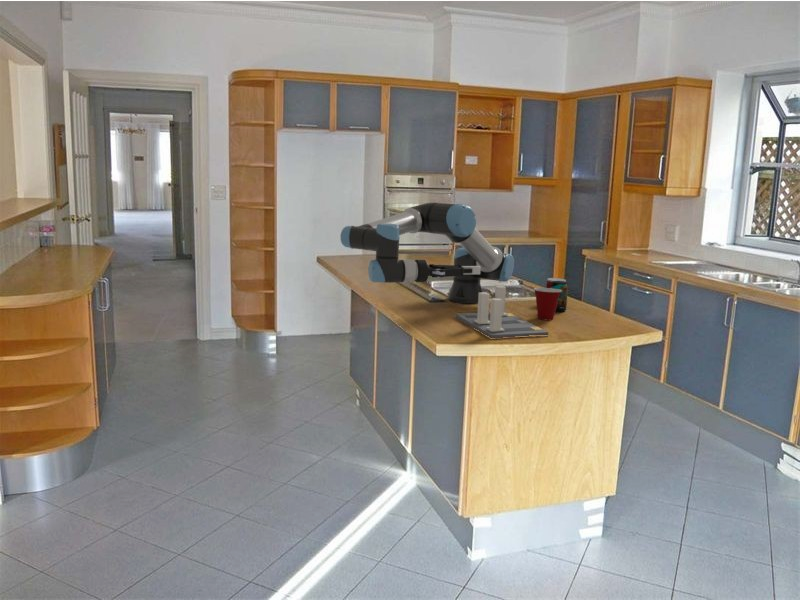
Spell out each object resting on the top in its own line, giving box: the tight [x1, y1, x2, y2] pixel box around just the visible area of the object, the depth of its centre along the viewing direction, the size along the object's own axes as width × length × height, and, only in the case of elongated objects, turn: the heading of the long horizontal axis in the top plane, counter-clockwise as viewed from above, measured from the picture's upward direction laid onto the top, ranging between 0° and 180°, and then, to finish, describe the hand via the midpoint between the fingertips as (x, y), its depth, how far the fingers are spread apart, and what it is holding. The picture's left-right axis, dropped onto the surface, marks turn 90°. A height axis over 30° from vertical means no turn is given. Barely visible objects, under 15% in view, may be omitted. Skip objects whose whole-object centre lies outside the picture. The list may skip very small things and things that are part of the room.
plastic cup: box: [533, 287, 562, 321], centre depth 275 cm, size 11×11×12 cm
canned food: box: [545, 277, 567, 288], centre depth 302 cm, size 8×8×11 cm
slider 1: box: [474, 291, 491, 324], centre depth 257 cm, size 4×5×11 cm
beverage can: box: [550, 281, 569, 313], centre depth 290 cm, size 7×7×12 cm
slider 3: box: [494, 285, 508, 316], centre depth 271 cm, size 4×5×11 cm
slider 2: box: [486, 297, 504, 332], centre depth 247 cm, size 4×5×11 cm
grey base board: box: [455, 311, 549, 339], centre depth 261 cm, size 33×22×2 cm, turn 17°
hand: (479, 270), depth 244 cm, fingers closed
